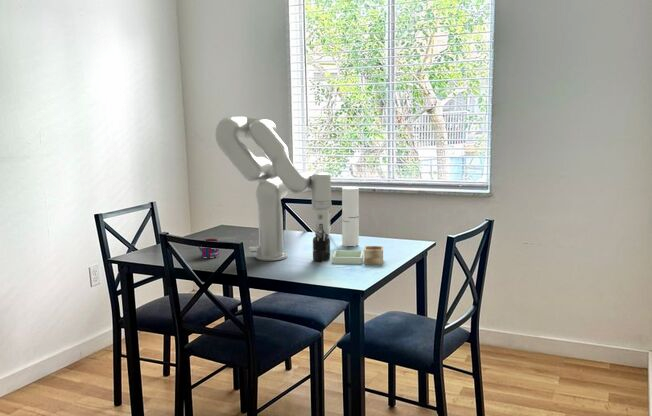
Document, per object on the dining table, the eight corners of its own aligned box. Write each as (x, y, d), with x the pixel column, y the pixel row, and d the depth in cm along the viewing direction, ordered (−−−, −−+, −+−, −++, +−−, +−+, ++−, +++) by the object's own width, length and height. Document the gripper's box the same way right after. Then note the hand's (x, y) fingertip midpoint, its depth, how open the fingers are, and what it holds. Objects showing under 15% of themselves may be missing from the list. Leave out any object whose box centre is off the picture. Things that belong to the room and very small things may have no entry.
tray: (332, 264, 233) (332, 257, 232) (335, 257, 244) (335, 250, 243) (361, 265, 232) (361, 257, 231) (363, 258, 243) (363, 250, 242)
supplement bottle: (309, 261, 238) (309, 231, 236) (317, 257, 244) (317, 228, 242) (325, 263, 235) (325, 232, 233) (333, 259, 241) (333, 229, 239)
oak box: (364, 265, 232) (364, 249, 231) (364, 260, 239) (365, 245, 238) (382, 265, 231) (382, 250, 230) (383, 261, 238) (383, 246, 237)
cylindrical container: (358, 246, 263) (359, 188, 259) (342, 246, 263) (342, 188, 259) (358, 243, 270) (358, 186, 266) (342, 243, 270) (342, 186, 266)
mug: (208, 259, 242) (207, 242, 241) (194, 255, 249) (193, 239, 248) (222, 256, 246) (221, 240, 245) (208, 252, 254) (207, 236, 252)
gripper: (329, 208, 227) (330, 253, 230) (333, 201, 244) (334, 243, 247) (309, 208, 228) (310, 253, 231) (314, 201, 245) (316, 243, 248)
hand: (323, 247), depth 239 cm, fingers open, 9 cm apart
